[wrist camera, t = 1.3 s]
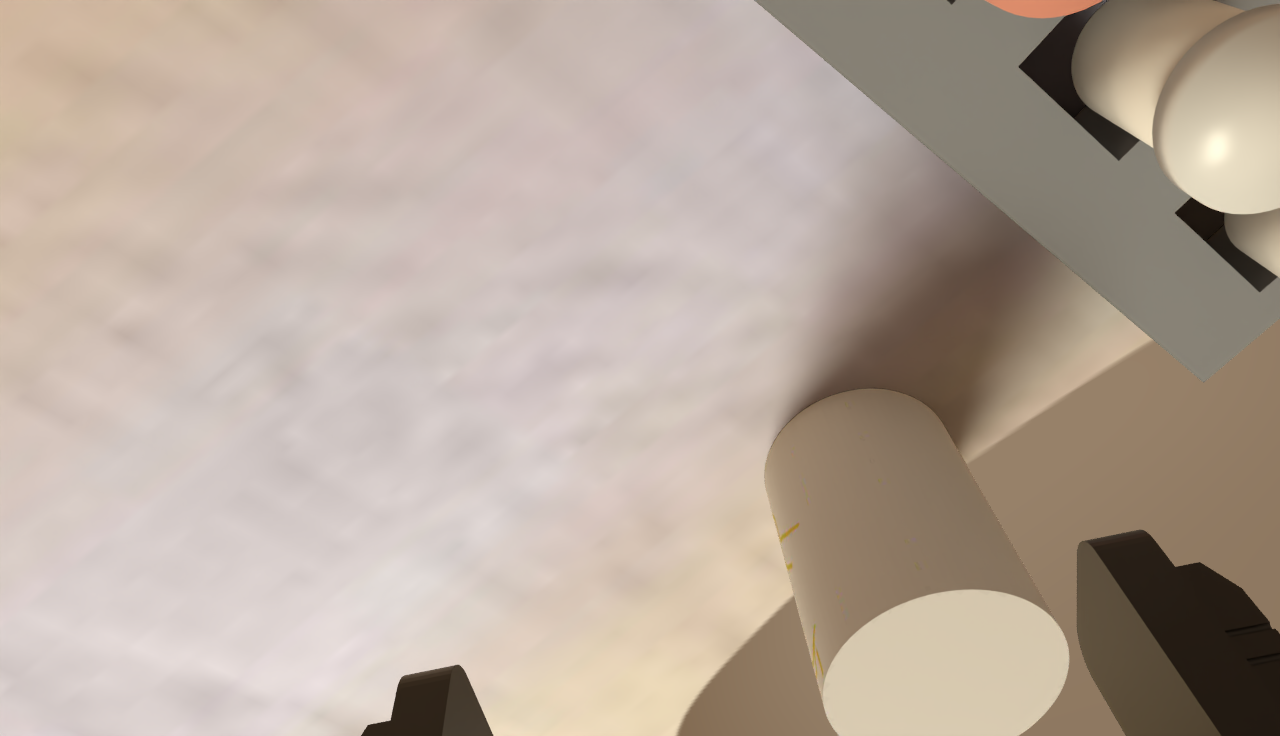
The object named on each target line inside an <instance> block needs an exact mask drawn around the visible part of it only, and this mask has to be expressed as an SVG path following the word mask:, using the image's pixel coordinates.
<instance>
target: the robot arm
mask: <svg viewBox="0 0 1280 736" xmlns="http://www.w3.org/2000/svg"><path fill="white" fill-rule="evenodd" d="M1077 633H1078V639H1079V644H1080V648H1081V650H1082V654H1083V657H1084V660H1085V663H1086V665H1087V668H1088V670H1089V672H1090V674H1091V676H1092V678H1093V680H1094V681H1095V683H1096V685H1097V687H1098V688H1099V690H1100V692H1101V693H1102V695H1103V697H1104V699H1105V700H1106V702H1107V704H1108V706H1109V707H1110V709H1111V711H1112V713H1113V714H1114V716H1115V718H1116V720H1117V721H1118V723H1119V725H1120V726H1121V728H1122V730H1123V732H1124V733H1125V735H1126V736H1280V634H1279V633H1278V631H1277V630H1276V629H1272V628H1271V626H1270V622H1269V621H1268V619H1267V618H1266V617H1265V616H1264V615H1263V614H1262V612H1261V611H1260V610H1259V609H1258V607H1257V606H1256V605H1255V604H1254V603H1253V601H1252V600H1251V599H1250V598H1249V597H1248V595H1247V594H1246V593H1245V592H1244V591H1243V589H1242V588H1240V587H1239V586H1237V585H1236V584H1234V583H1232V582H1231V581H1229V580H1228V579H1226V578H1224V577H1223V576H1221V575H1220V574H1218V573H1216V572H1215V571H1213V570H1211V569H1210V568H1208V567H1207V566H1205V565H1203V564H1202V563H1200V562H1199V563H1193V564H1188V565H1183V566H1178V567H1175V566H1174V565H1173V564H1172V562H1171V561H1170V560H1169V558H1168V557H1167V556H1166V554H1165V553H1164V552H1163V551H1162V549H1161V548H1160V547H1159V545H1158V544H1157V543H1156V541H1155V540H1154V539H1153V538H1152V537H1151V535H1149V534H1148V533H1147V532H1146V531H1144V530H1136V531H1131V532H1126V533H1121V534H1116V535H1111V536H1106V537H1101V538H1097V539H1091V540H1087V541H1082V542H1080V543H1079V545H1078V549H1077ZM361 736H493V734H492V732H491V729H490V727H489V725H488V723H487V720H486V718H485V716H484V713H483V711H482V709H481V707H480V704H479V702H478V700H477V698H476V695H475V693H474V691H473V688H472V686H471V684H470V682H469V679H468V677H467V675H466V673H465V671H464V669H463V668H462V667H461V666H460V665H455V666H450V667H445V668H440V669H435V670H430V671H425V672H420V673H415V674H410V675H405V676H403V677H402V678H401V679H400V681H399V684H398V687H397V692H396V697H395V702H394V707H393V711H392V716H391V721H386V722H381V723H376V724H371V725H368V726H367V727H366V729H365V730H364V732H363V734H362V735H361Z"/></svg>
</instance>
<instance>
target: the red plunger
mask: <svg viewBox="0 0 1280 736" xmlns="http://www.w3.org/2000/svg"><path fill="white" fill-rule="evenodd" d="M985 1H987V2H989V3H990V4H992V5H994V6H996V7H998V8H1000V9H1002V10H1004V11H1007V12H1010V13H1012V14H1015V15H1019V16H1024V17H1030V18H1053V17H1060V16H1065V15H1070V14H1073V13H1076V12H1079V11H1082V10H1085V9H1087V8H1089V7H1091V6H1093V5H1095V4H1097V3H1099V2H1101V1H1102V0H985Z"/></svg>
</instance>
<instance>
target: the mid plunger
mask: <svg viewBox="0 0 1280 736" xmlns="http://www.w3.org/2000/svg"><path fill="white" fill-rule="evenodd" d="M1072 79H1073V83H1074V87H1075V89H1076V92H1077V94H1078V95H1079V97H1080V99H1081V100H1082V101H1083V102H1084V103H1085V104H1086V105H1087V106H1088V107H1089V108H1090V109H1092V110H1093V111H1095V112H1096V113H1098V114H1099V115H1101V116H1103V117H1104V118H1106V119H1107V120H1109V121H1111V122H1112V123H1114V124H1115V125H1117V126H1119V127H1120V128H1122V129H1124V130H1125V131H1127V132H1128V133H1130V134H1132V135H1133V136H1135V137H1136V138H1138V139H1140V140H1141V141H1143V142H1144V143H1146V144H1148V145H1149V146H1151V147H1152V148H1154V152H1155V156H1156V159H1157V161H1158V164H1159V166H1160V168H1161V169H1162V171H1163V173H1164V174H1165V176H1166V177H1167V178H1168V179H1169V180H1170V181H1171V182H1172V183H1173V184H1174V185H1175V186H1177V187H1178V188H1179V189H1180V190H1182V191H1183V192H1185V193H1186V194H1188V195H1189V196H1191V197H1192V198H1194V199H1196V200H1197V201H1199V202H1200V203H1202V204H1204V205H1205V206H1207V207H1209V208H1211V209H1214V210H1217V211H1220V212H1225V213H1230V214H1256V213H1261V212H1266V211H1271V210H1274V209H1277V208H1280V4H1272V5H1266V6H1261V7H1257V8H1254V9H1251V10H1248V11H1244V10H1241V9H1238V8H1235V7H1232V6H1229V5H1226V4H1223V3H1220V2H1217V1H1214V0H1108V1H1107V2H1106V3H1105V4H1103V5H1102V6H1101V7H1100V8H1099V9H1098V10H1097V11H1096V12H1095V13H1094V14H1093V16H1092V17H1091V18H1090V19H1089V21H1088V22H1087V23H1086V25H1085V26H1084V28H1083V30H1082V32H1081V33H1080V35H1079V38H1078V40H1077V42H1076V45H1075V49H1074V52H1073V57H1072Z"/></svg>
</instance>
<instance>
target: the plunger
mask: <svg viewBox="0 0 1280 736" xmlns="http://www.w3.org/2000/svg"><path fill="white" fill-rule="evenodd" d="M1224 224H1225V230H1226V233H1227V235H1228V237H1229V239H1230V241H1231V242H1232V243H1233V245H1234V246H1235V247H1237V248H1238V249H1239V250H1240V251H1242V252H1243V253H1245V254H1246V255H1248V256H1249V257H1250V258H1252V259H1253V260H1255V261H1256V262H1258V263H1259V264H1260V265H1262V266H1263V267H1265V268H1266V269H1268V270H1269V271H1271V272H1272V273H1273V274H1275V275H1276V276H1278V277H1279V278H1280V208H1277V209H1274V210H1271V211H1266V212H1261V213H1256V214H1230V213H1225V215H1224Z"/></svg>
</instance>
